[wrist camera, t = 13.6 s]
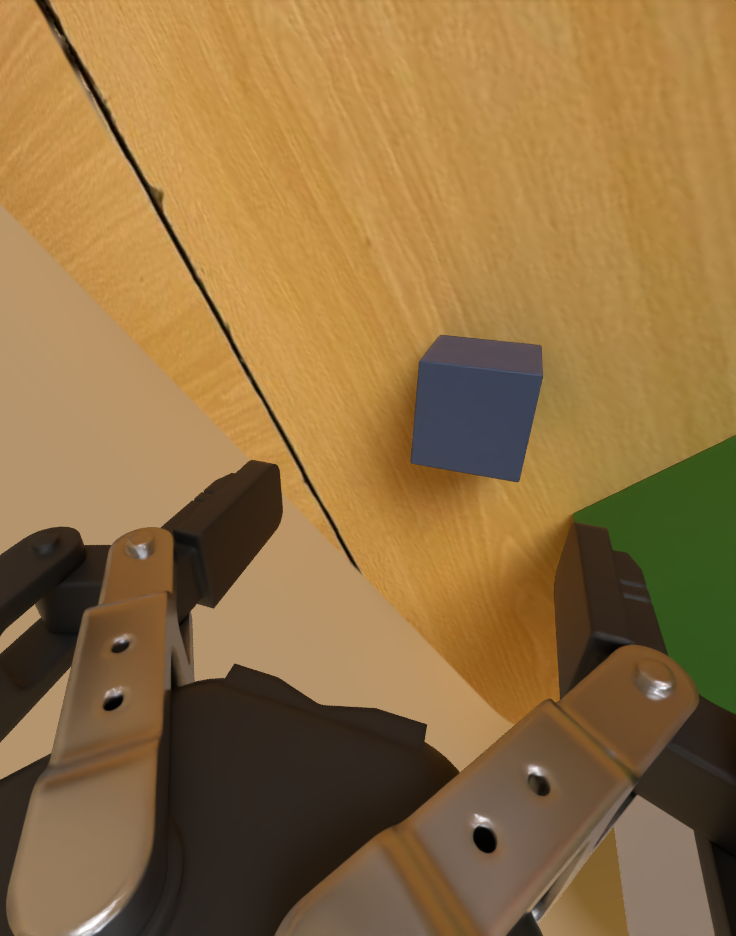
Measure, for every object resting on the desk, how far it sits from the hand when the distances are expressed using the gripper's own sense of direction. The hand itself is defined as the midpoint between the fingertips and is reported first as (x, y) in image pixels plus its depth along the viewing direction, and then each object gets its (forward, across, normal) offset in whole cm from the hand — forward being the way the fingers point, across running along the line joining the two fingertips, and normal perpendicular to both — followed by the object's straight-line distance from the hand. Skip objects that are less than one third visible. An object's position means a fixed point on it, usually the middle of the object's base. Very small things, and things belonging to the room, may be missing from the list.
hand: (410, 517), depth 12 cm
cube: (+14, -1, +1) cm, 14 cm away
